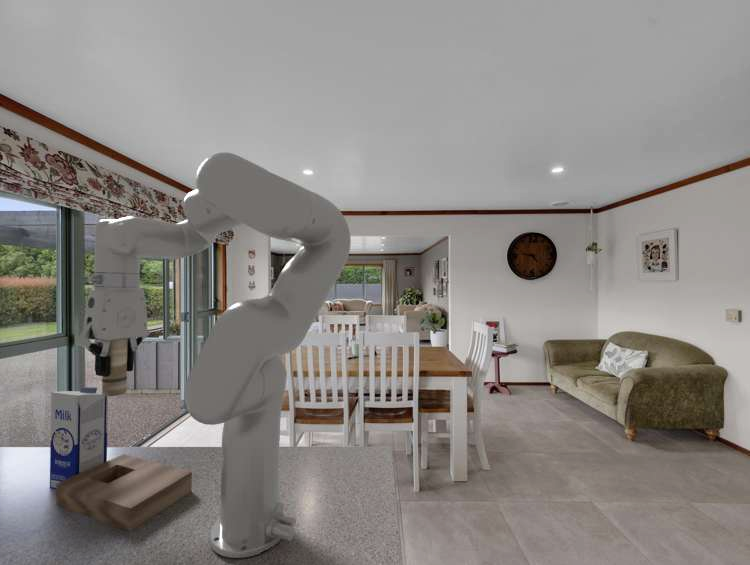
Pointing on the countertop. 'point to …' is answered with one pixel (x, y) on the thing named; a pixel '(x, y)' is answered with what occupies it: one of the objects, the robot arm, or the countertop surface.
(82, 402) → the milk carton
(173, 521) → the countertop surface
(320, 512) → the countertop surface
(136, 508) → the walnut board
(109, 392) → the maple peg
